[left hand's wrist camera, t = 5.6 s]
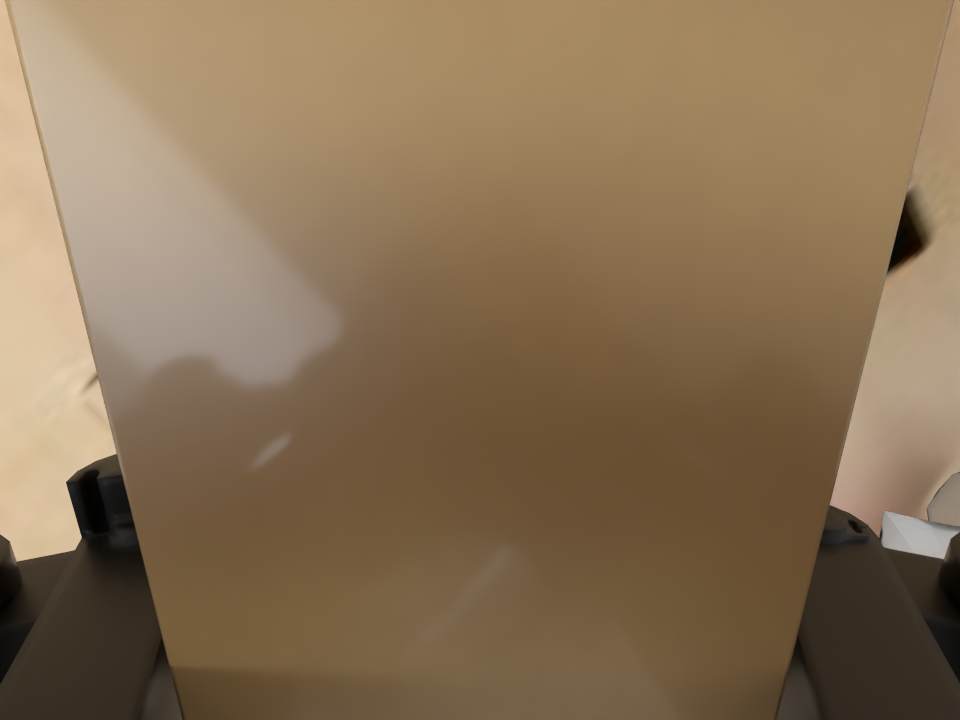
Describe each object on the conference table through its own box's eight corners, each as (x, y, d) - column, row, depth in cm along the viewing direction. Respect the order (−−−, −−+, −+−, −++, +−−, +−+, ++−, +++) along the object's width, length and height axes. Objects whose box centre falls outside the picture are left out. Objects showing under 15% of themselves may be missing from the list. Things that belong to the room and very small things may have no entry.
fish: (618, 595, 23) (892, 861, 15) (864, 353, 26) (1187, 468, 18) (668, 694, 29) (877, 914, 21) (859, 489, 33) (1098, 616, 25)
